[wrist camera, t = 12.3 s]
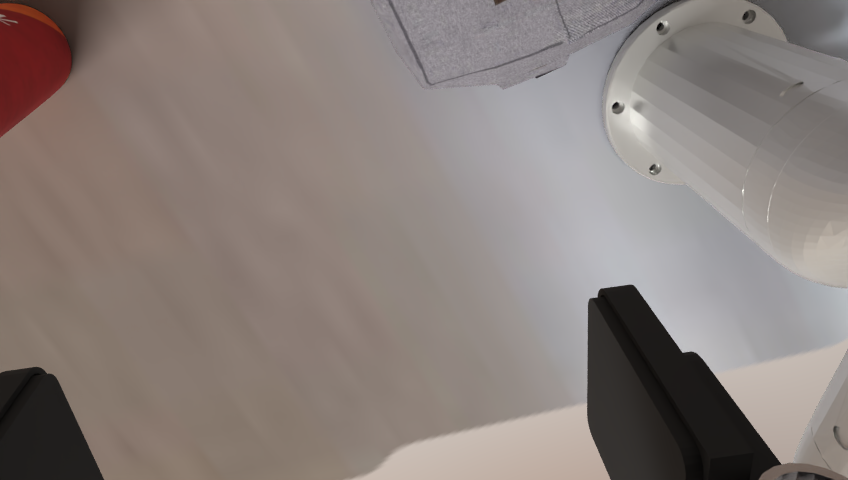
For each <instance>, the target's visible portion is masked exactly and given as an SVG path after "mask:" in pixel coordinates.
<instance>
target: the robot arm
mask: <svg viewBox="0 0 848 480" xmlns="http://www.w3.org/2000/svg"><path fill="white" fill-rule="evenodd" d="M744 13H745V16H744V17H743V14H744ZM742 17H743V18H742ZM659 23H661V27H660V28H659V29H658V30H656V28H657V25H658V24H659ZM615 102H617V105H616V106H615V107H613V108H612V105H613V104H614V103H615ZM602 115H603V123H604V128H605V131H606V134H607V136H608V139H609V142H610V144H611V145H612V147H613V148H614V150H615V152H616V153H617V155H618V156H619V157H620V158H621V159H622V160H623V161H624V162H625V163H626V164H627V165H628V166H629V167H631V168H632V169H633V170H634V171H636V172H637V173H638V174H640V175H642V176H644V177H646V178H648V179H650V180H653V181H657V182H661V183H665V184H675V185H686V184H687V185H688V186H689V187H690V188H691V189H692V190H694V191H695V192H696V193H697V194H698V195H699V196H701V197H702V198H703V199H704V200H705V201H706V202H708V203H709V204H710V205H711V206H712V207H713V208H715V209H716V210H717V211H718V212H719V213H720V214H722V215H723V216H724V217H725V218H726V219H727V220H729V221H730V222H731V223H732V224H733V225H734V226H736V227H737V228H738V229H739V230H740V231H741V232H743V233H744V234H745V235H746V236H747V237H748V238H750V239H751V240H752V241H753V242H754V243H755V244H757V245H758V246H759V247H760V248H761V249H762V250H763V251H764V252H766V253H767V254H768V255H769V256H770V257H772V258H773V259H774V260H775V261H776V262H777V263H779V264H780V265H782V266H783V267H785V268H786V269H787V270H789V271H790V272H792V273H794V274H796V275H798V276H800V277H802V278H804V279H807V280H809V281H812V282H815V283H819V284H823V285H827V286H831V287H838V288H848V61H845V60H843V59H842V58H841V57H837V58H835V57H832V56H829V55H826V54H823V53H820V52H816V51H813V50H810V49H807V48H804V47H801V46H798V45H795V44H791V43H788V41H787V39H786V36H785V34H784V32H783V30H782V28H781V27H780V26H779V25H778V23H777V22H776V21H775V19H774V18H773V17H772V16H771V15H770V14H768V13H767V12H766V11H765V10H763V9H762V8H761V7H759V6H757V5H755V4H753V3H751V2H748V1H746V0H681V1H678V2H675V3H673V4H671V5H669V6H667V7H665V8H663V9H662V10H660V11H658V12H656V13H655V14H654V15H652V16H651V17H650V18H648V19H647V20H646V21H645V22H643V23H642V24H641V25H640V26H639V27H638V28H637V29H636V30H635V31H634V32H633V33H632V34H631V35H630V37H629V38H628V39H627V40H626V41H625V43H624V44H623V46H622V47H621V49H620V50H619V52H618V53H617V55H616V56H615V59H614V61H613V63H612V65H611V68H610V70H609V72H608V74H607V78H606V82H605V86H604V90H603V100H602ZM652 165H653V166H652ZM651 166H652V167H651ZM650 167H651V168H650ZM587 416H588V424H589V428H590V432H591V435H592V437H593V440H594V442H595V444H596V446H597V449H598V451H599V453H600V456H601V458H602V460H603V463H604V465H605V467H606V470H607V472H608V474H609V476H610V479H611V480H848V350H847V352H846V354H845V356H844V357H843V359H842V361H841V363H840V365H839V367H838V369H837V370H836V372H835V374H834V376H833V378H832V380H831V381H830V383H829V385H828V387H827V389H826V391H825V393H824V395H823V397H822V398H821V400H820V402H819V404H818V406H817V408H816V409H815V412H814V415H813V416H812V418H811V420H810V422H809V424H808V426H807V427H806V430H805V432H804V434H803V436H802V438H801V441H800V443H799V445H798V448H797V450H796V453H795V457H794V461H793V463H787V464H783V465H782V464H781V463H780V462H779V460H778V459H777V458H776V456H775V455H774V454H773V453H772V451H771V450H770V448H769V447H768V446H767V444H766V443H765V442H764V441H763V439H762V438H761V437H760V435H759V434H758V433H757V431H756V430H755V429H754V427H753V426H752V425H751V423H750V422H749V421H748V419H747V418H746V417H745V415H744V414H743V413H742V411H741V410H740V409H739V407H738V406H737V405H736V403H735V402H734V401H733V399H732V398H731V397H730V395H729V394H728V393H727V391H726V390H725V389H724V387H723V386H722V385H721V383H720V382H719V381H718V379H717V378H716V377H715V375H714V374H713V373H712V371H711V370H710V369H709V367H708V366H707V365H706V363H705V362H704V361H703V359H702V358H701V357H700V356H699V355H698V354H697V353H694V352H685V353H682V351H681V350H680V349H679V347H678V346H677V344H676V343H675V342H674V340H673V339H672V338H671V336H670V335H669V333H668V332H667V331H666V329H665V328H664V326H663V325H662V324H661V322H660V321H659V319H658V318H657V317H656V315H655V314H654V312H653V311H652V310H651V308H650V307H649V305H648V304H647V303H646V301H645V300H644V298H643V297H642V296H641V294H640V293H639V291H638V290H637V289H636V287H635V286H634V285H624V286H617V287H610V288H603V289H600V290H599V293H598V298H591V299H590V300H589V302H588V392H587ZM0 480H104V479H103V476H102V474H101V472H100V470H99V468H98V466H97V464H96V461H95V459H94V457H93V455H92V453H91V451H90V449H89V446H88V444H87V442H86V440H85V438H84V436H83V434H82V431H81V429H80V427H79V425H78V423H77V421H76V418H75V416H74V414H73V412H72V410H71V408H70V406H69V403H68V401H67V399H66V397H65V395H64V393H63V391H62V388H61V386H60V384H59V382H58V380H57V378H56V377H55V376H54V375H53V374H47V373H46V372H45V371H44V370H43V369H42V368H39V367H32V368H25V369H18V370H11V371H5V372H2V373H0Z"/></svg>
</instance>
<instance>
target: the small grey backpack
mask: <svg viewBox="0 0 848 480" xmlns="http://www.w3.org/2000/svg"><path fill="white" fill-rule="evenodd" d="M656 1H657V0H371V3H372V5H373V7H374V9H375V11H376V13H377V15H378V17H379V19H380V21H381V23H382V25H383V27H384V29H385V31H386V33H387V35H388V37H389V39H390V41H391V43H392V44H393V46H394V48H395V50H396V52H397V54H398V55H399V56H400V58H401V59H402V61H403V62H404V63H405V65H406V66H407V67H408V69H409V70H410V71H411V73H412V74H413V75H414V77H415V78H416V79H417V81H418V82H419V84H420V85H421V86H422V88H424V89H439V88H453V87H467V86H481V85H495V84H497V85H498V86H499V87H501V88H502V89H506V88H508V87H511V86H513V85H516V84H518V83H521V82H523V81H526V80H528V79H531V78H534V77H536V78H538V77H541V76H543V75H545V74H547V73H549V72H551V71H553V70H556V69H558V68H560V67H562V66H564V65H566V63H567V60H568V58H569V55H570V54H572V53H574V52H576V51H578V50H580V49H582V48H584V47H586V46H588V45H590V44H592V43H594V42H596V41H598V40H600V39H602V38H604V37H606V36H608V35H610V34H612V33H614V32H617V31H619V30H621V29H623V28H625V27H627V26H629V25H631V24H632V23H633V22H635V21H636V20H637V19H638V18H639V17H640V16H641V15H642V14H643V13H644V12H645V11H646V10H647V9H649V8H650V7H651V6H652V5H653V4H654V3H655V2H656Z"/></svg>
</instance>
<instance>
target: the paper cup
mask: <svg viewBox="0 0 848 480" xmlns="http://www.w3.org/2000/svg"><path fill="white" fill-rule="evenodd" d="M71 65H72V57H71V51H70V47H69V44H68V42H67V39H66V38H65V36H64V34H63V33H62V31H61V30H60V28H59V27H58V26H57V25H56V24H55V23H54V22H53V21H52V20H51V19H50V18H49V17H47V16H46V15H45V14H43V13H42V12H40V11H38V10H36V9H34V8H31V7H29V6H25V5H21V4H14V3H3V4H0V137H1V136H3V135H4V134H5V133H6V132H8V131H9V130H10V129H11V128H13V127H14V126H15V125H16V124H18V123H19V122H20V121H21V120H23V119H24V118H25V117H26V116H28V115H29V114H30V113H31V112H33V111H34V110H35V109H36V108H37V107H39V106H40V105H41V104H42V103H43V102H45V101H46V100H47V99H48V98H50V97H51V96H52V95H53V94H54V93H55V92H56V91H57V90H58V89H59V88H60V87H61V86H62V85H63V84H64V83H65V81H66V80H67V78H68V76H69V74H70V70H71Z"/></svg>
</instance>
